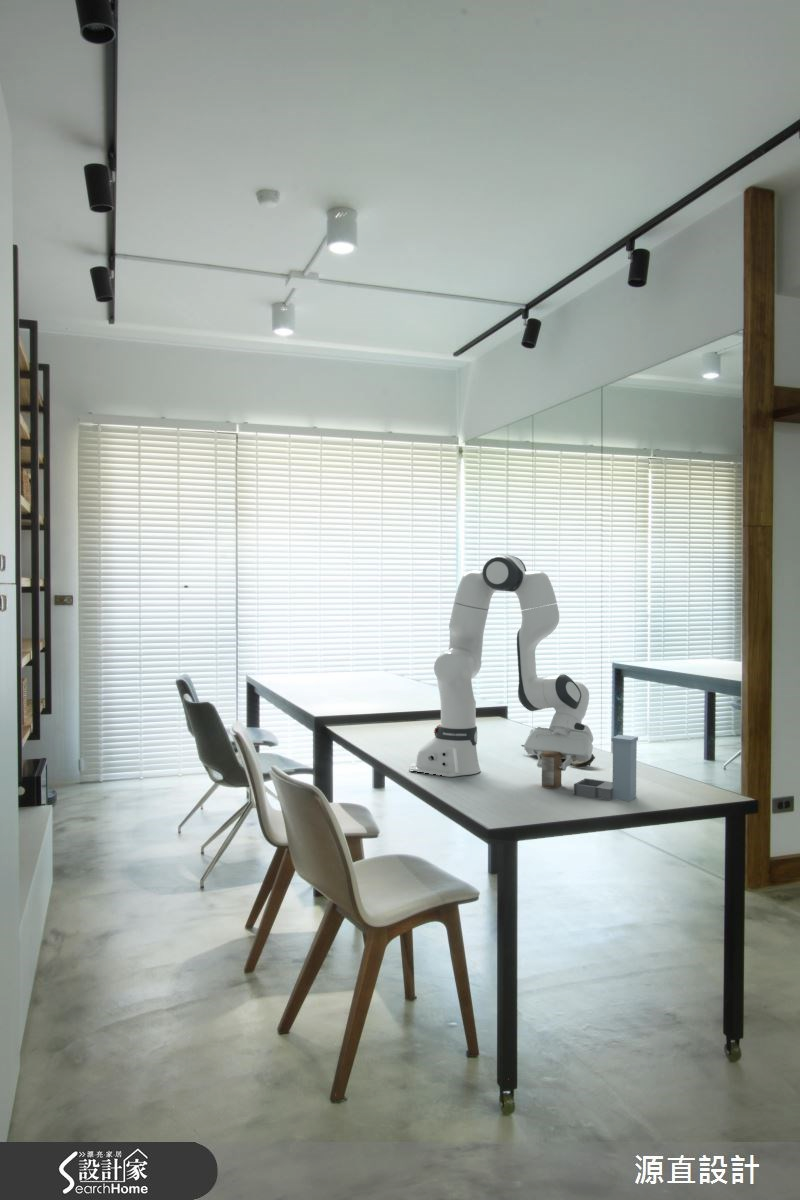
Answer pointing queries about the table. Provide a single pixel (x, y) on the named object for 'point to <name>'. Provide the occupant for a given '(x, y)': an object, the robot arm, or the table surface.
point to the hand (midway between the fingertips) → (550, 768)
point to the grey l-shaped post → (615, 774)
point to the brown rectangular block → (551, 769)
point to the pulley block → (579, 763)
